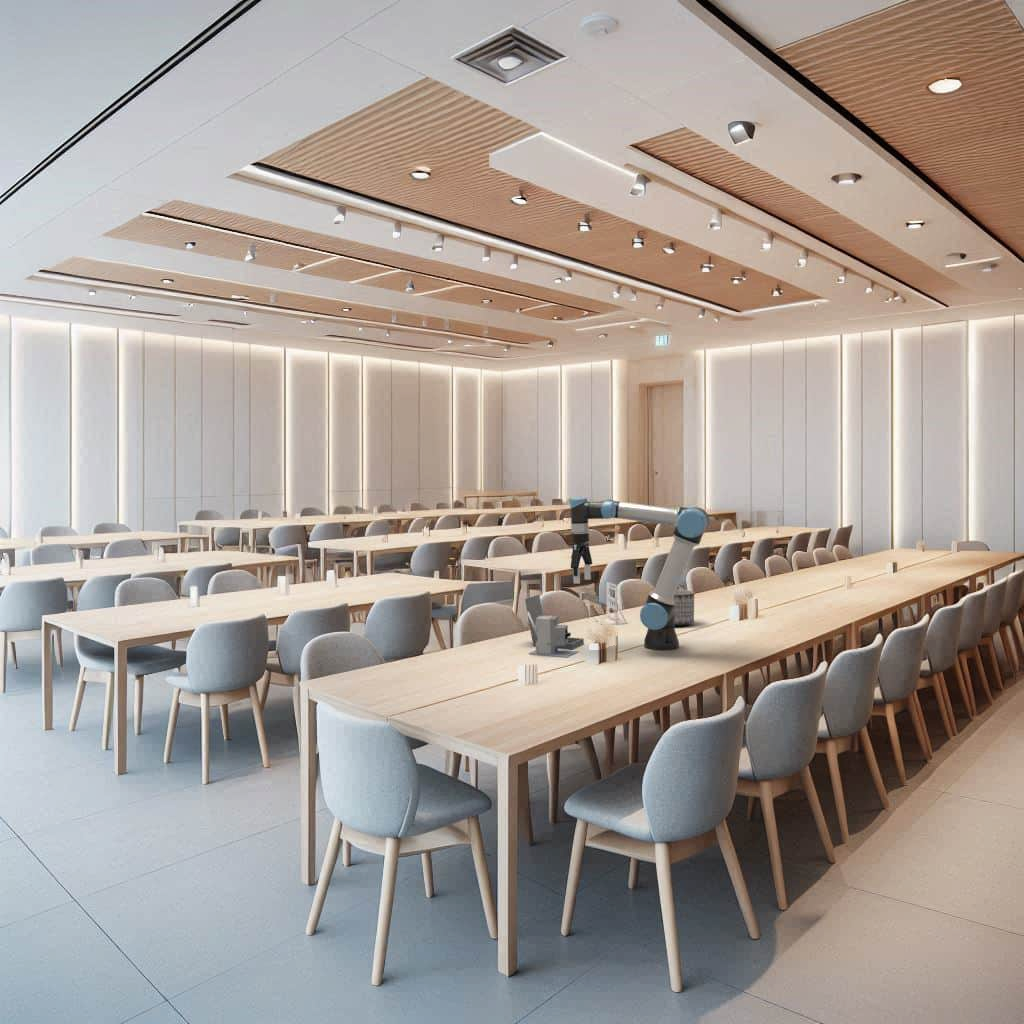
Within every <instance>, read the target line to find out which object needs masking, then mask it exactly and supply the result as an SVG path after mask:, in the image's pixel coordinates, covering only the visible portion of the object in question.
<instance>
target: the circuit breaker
mask: <svg viewBox="0 0 1024 1024" xmlns="http://www.w3.org/2000/svg"><path fill="white" fill-rule="evenodd" d="M535 628H536V629H538V641H537V642H536V646H535V650H536V653H539V654H555V653H556V652H557V651H558V649H559V648H558V646H565V645H566V643H567V642H568V637H570V638H571V632H568V631H569V630H568V629H569V627H568V624H558V616H557V615H543V616H539V617H537V618H536V622H535Z"/></svg>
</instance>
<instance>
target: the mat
mask: <svg viewBox="0 0 1024 1024" xmlns="http://www.w3.org/2000/svg"><path fill="white" fill-rule="evenodd" d="M578 653H579V651H578V650H570V649H559V648H558V651H557V652H556V653H555V654H539V653H536V649H535V650H532V651H531V652H528V655H533V656H545V657H553V658H554V657H555V658H566V659H568V658H569V657H572V656H574V655H575V654H578Z"/></svg>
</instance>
